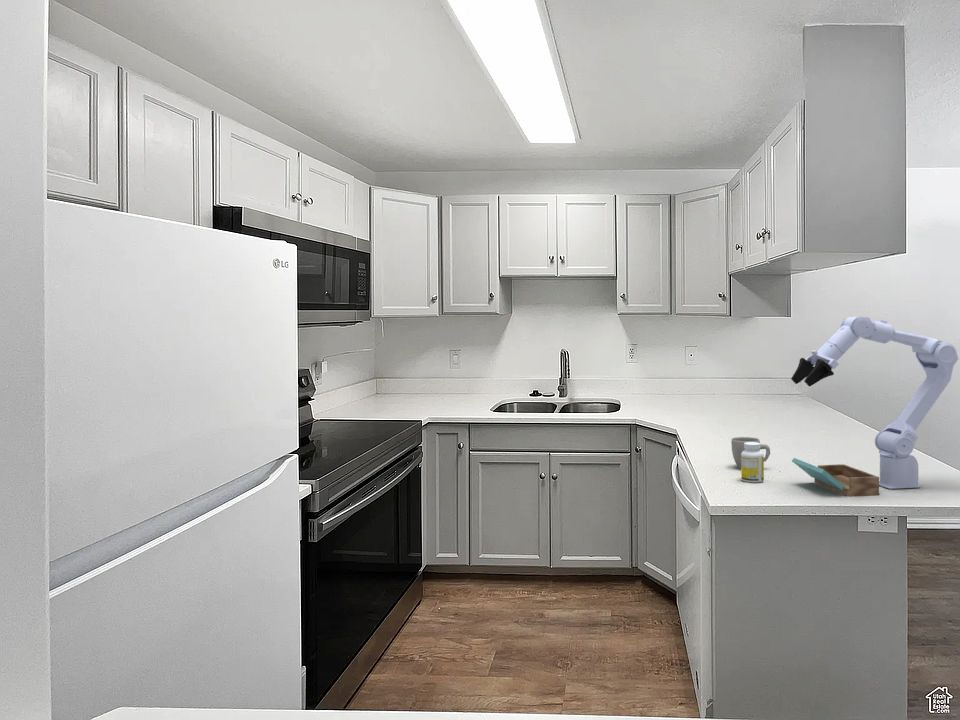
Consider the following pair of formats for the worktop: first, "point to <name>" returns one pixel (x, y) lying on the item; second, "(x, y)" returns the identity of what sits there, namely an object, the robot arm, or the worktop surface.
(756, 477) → the pill bottle
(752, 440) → the mug
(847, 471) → the wooden box
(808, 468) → the teal box lid
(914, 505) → the worktop surface
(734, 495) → the worktop surface
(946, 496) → the worktop surface
